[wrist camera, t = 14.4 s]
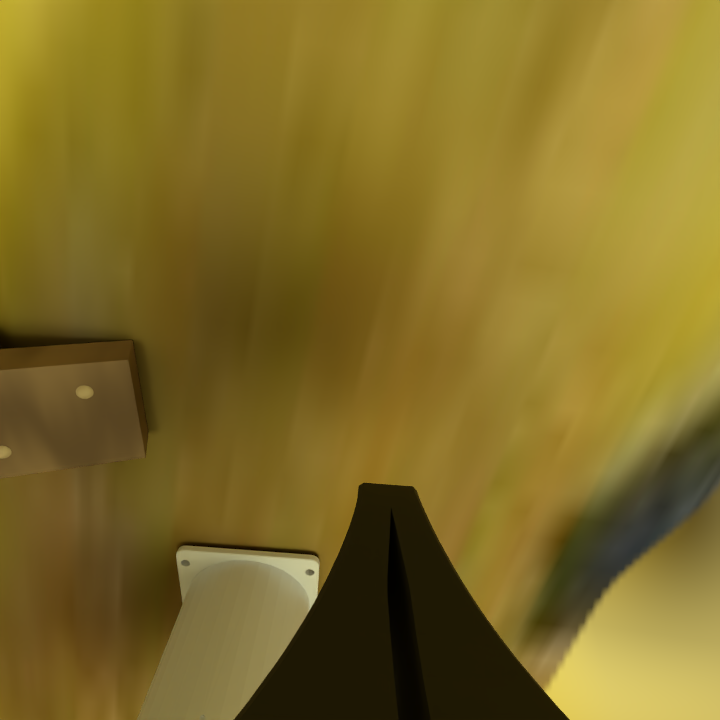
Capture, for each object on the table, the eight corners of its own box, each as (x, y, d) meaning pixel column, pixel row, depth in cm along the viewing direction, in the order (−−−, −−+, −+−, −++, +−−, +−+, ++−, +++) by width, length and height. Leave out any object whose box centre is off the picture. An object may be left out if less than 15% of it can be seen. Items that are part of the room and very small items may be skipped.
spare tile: (145, 460, 21) (-44, 487, 19) (148, 432, 23) (-23, 454, 21) (127, 361, 19) (-89, 380, 16) (132, 339, 21) (-62, 353, 18)
